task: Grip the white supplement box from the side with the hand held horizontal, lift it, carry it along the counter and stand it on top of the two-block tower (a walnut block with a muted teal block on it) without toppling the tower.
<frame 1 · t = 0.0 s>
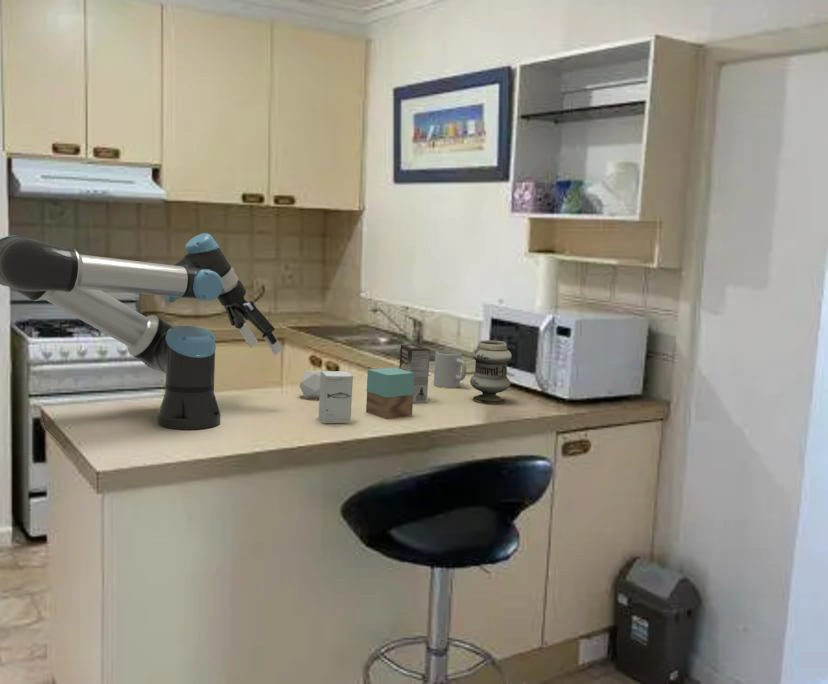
hand: (266, 348, 245), 15 cm above the table, tool tilted 35°, fingers open, 13 cm apart
block upper: (389, 392, 241), point 6 cm above the table, touching block lower
apothecary jar: (488, 401, 267), on the table
die: (313, 398, 258), on the table
supplement box: (334, 421, 230), on the table
coffee box: (412, 400, 262), on the table
block lower: (388, 414, 241), on the table, touching block upper
mug: (450, 387, 286), on the table
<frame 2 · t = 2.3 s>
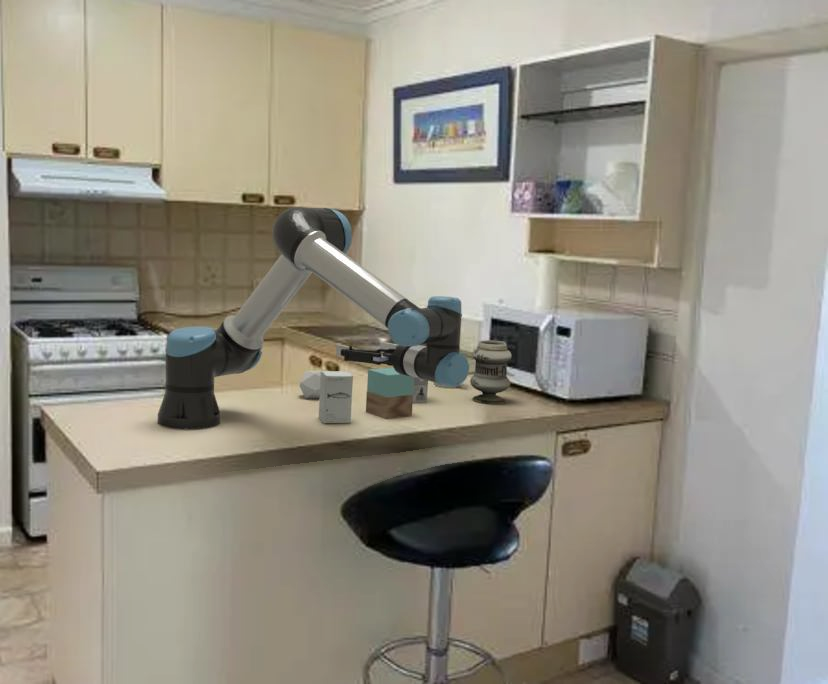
hand: (359, 348, 220), 20 cm above the table, tool horizontal, fingers open, 13 cm apart
nothing on the table moved.
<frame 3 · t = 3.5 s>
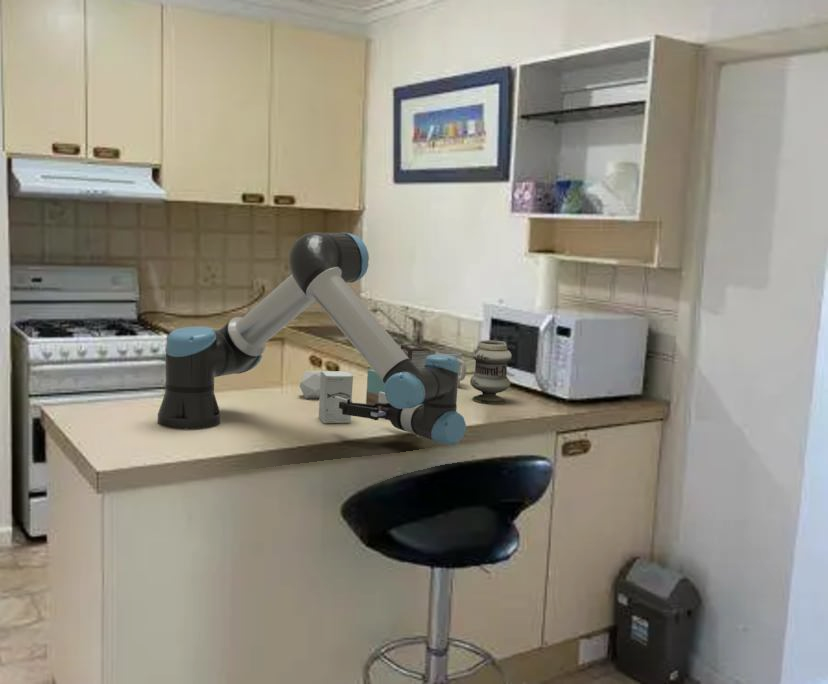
hand: (358, 399, 222), 8 cm above the table, tool horizontal, fingers open, 13 cm apart
nothing on the table moved.
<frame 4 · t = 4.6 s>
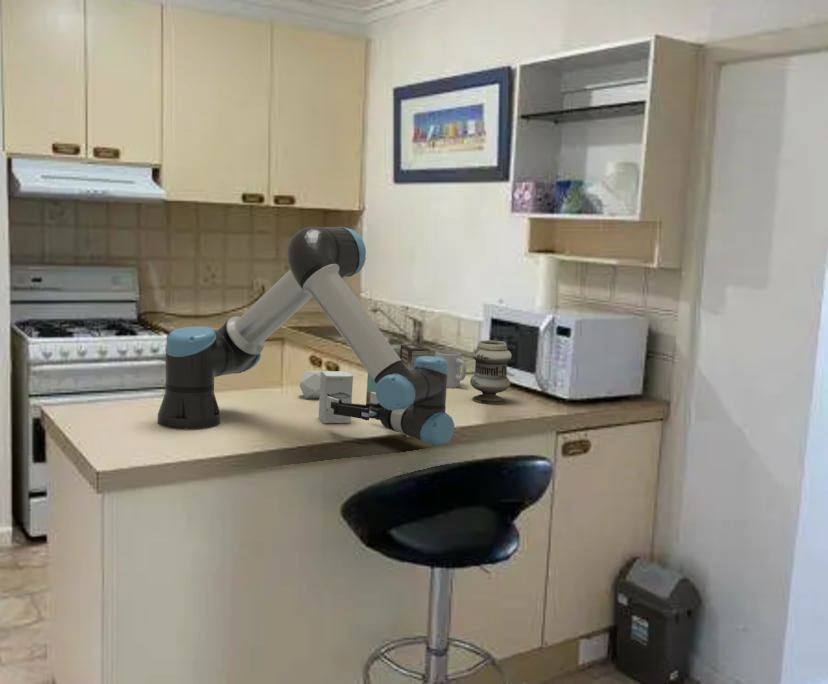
hand: (349, 399, 225), 7 cm above the table, tool horizontal, fingers open, 13 cm apart
nothing on the table moved.
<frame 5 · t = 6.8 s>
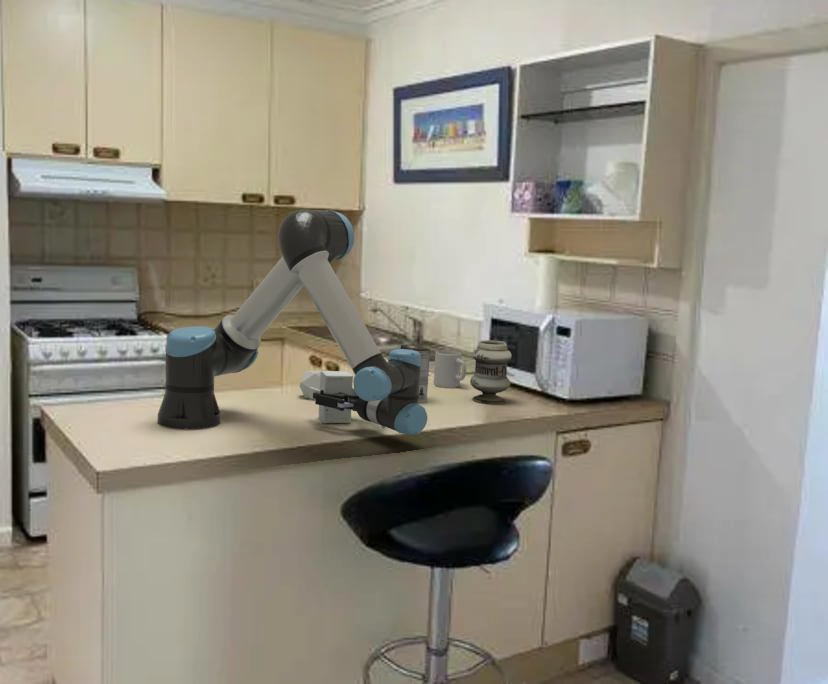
hand: (326, 390, 232), 7 cm above the table, tool horizontal, fingers closed on supplement box, 9 cm apart
supplement box: (334, 421, 230), on the table, touching gripper
everything else where it was.
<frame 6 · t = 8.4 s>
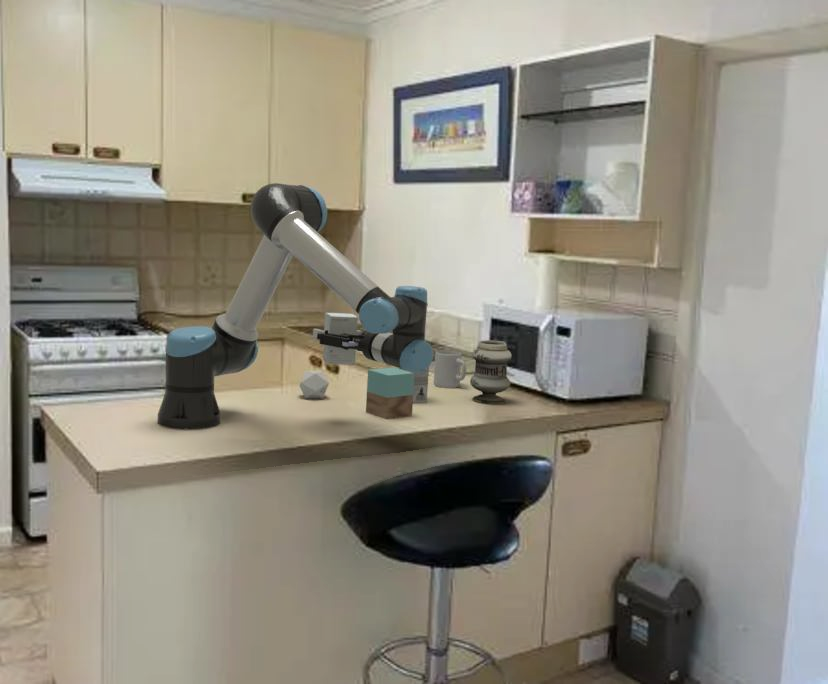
hand: (330, 333, 230), 22 cm above the table, tool horizontal, fingers closed on supplement box, 9 cm apart
supplement box: (338, 363, 228), point 15 cm above the table, touching gripper
everything else where it was.
when the fingers open (20 cm above the table, at t = 11.9 s): supplement box drops 1 cm, resting on block upper.
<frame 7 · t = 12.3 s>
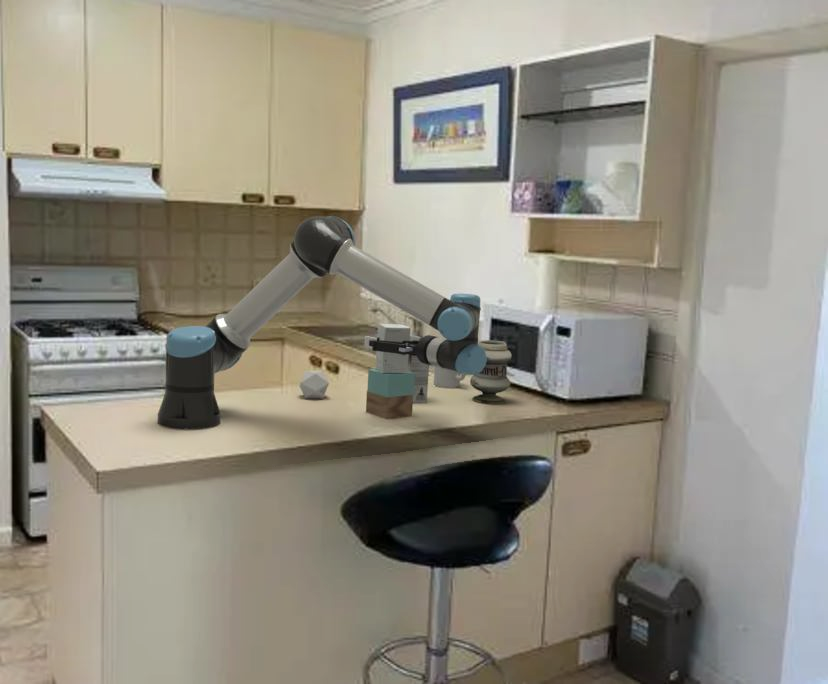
hand: (385, 339, 241), 20 cm above the table, tool horizontal, fingers open, 13 cm apart
block upper: (390, 392, 241), point 6 cm above the table, touching block lower, supplement box
supplement box: (391, 372, 240), point 12 cm above the table, touching block upper
everything else where it was.
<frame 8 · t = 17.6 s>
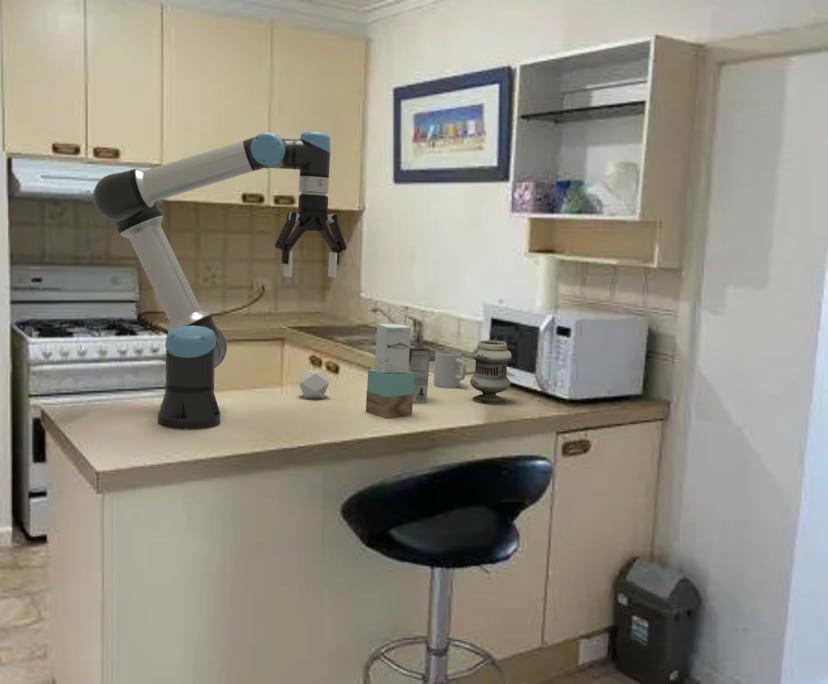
hand: (310, 277, 228), 37 cm above the table, tool pointing down, fingers open, 13 cm apart
nothing on the table moved.
at the end: supplement box inside the target area on the block upper (0.2 cm from its centre), point 5.8 cm above the block upper's base; supplement box tilted 0°; block upper tilted 0° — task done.
